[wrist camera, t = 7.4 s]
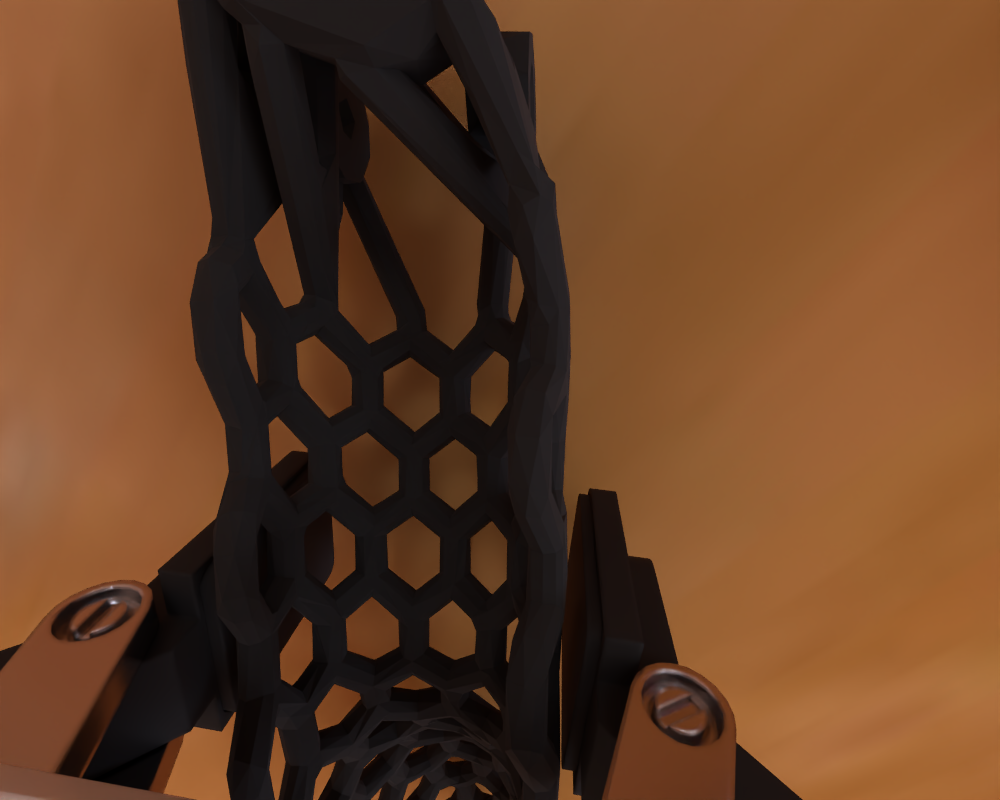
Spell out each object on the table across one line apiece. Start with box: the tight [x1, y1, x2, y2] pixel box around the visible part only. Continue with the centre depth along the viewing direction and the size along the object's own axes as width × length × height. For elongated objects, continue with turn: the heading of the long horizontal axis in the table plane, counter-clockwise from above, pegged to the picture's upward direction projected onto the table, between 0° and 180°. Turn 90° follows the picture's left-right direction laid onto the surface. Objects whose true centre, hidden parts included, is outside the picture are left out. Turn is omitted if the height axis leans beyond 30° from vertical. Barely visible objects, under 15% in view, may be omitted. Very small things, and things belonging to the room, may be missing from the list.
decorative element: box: [178, 0, 571, 800], centre depth 9 cm, size 22×5×6 cm, turn 2°
